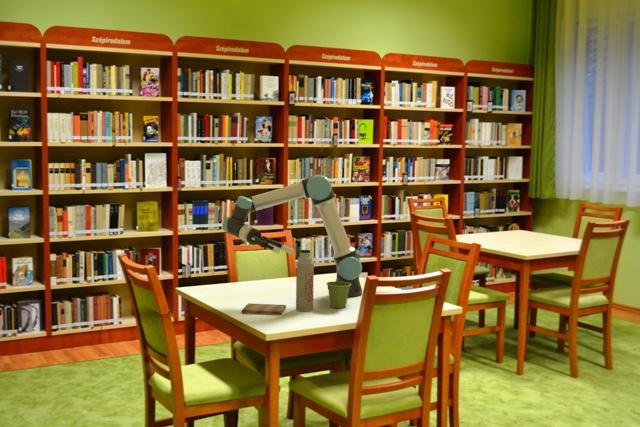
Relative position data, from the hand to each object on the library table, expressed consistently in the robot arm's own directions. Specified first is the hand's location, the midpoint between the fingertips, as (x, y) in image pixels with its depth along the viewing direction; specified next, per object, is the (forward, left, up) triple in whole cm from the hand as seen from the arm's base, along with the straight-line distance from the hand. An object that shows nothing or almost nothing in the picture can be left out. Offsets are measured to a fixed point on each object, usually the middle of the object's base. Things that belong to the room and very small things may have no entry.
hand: (286, 251), depth 357 cm
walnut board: (+8, +14, -26) cm, 30 cm away
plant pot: (-25, 0, -26) cm, 36 cm away
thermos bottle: (-10, +9, -26) cm, 29 cm away
